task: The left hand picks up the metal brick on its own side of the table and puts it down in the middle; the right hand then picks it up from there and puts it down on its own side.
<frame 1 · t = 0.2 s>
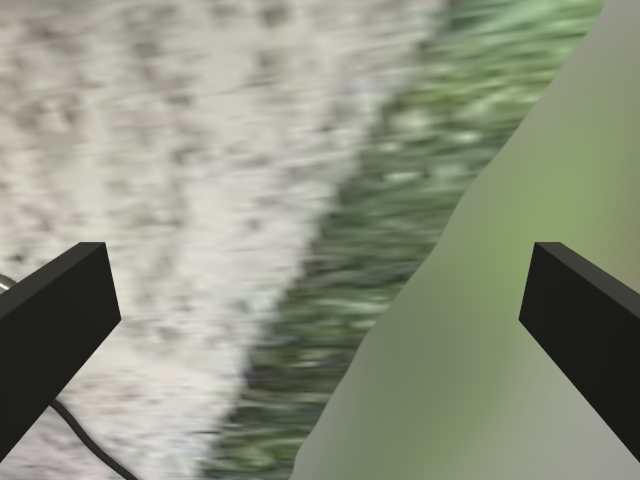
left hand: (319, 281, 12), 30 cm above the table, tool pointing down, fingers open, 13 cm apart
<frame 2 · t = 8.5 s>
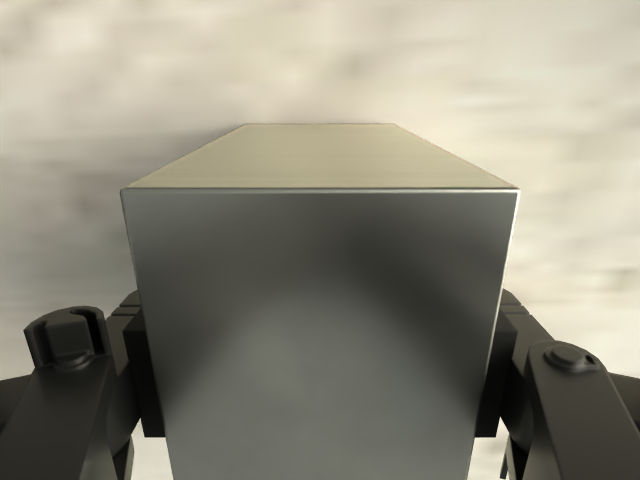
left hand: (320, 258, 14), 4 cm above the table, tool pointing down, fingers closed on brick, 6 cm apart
brick: (320, 224, 18), on the table, touching left hand
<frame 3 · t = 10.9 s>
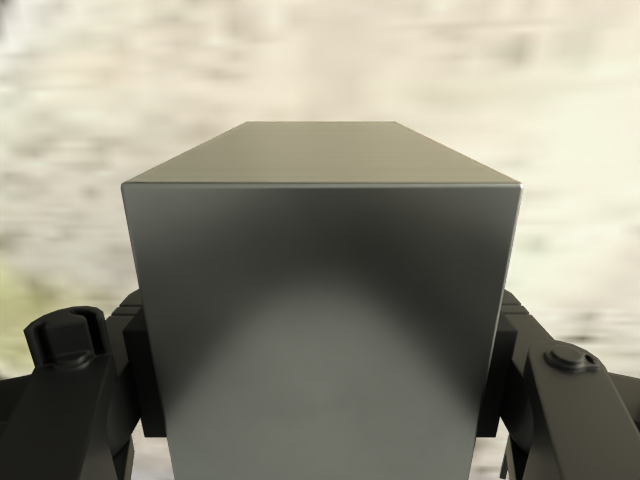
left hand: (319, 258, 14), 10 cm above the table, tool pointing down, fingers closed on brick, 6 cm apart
brick: (320, 222, 18), point 6 cm above the table, touching left hand
when the left hand's fingers open (5 cm above the table, at t = 13.2 s): brick drops 1 cm, on the table.
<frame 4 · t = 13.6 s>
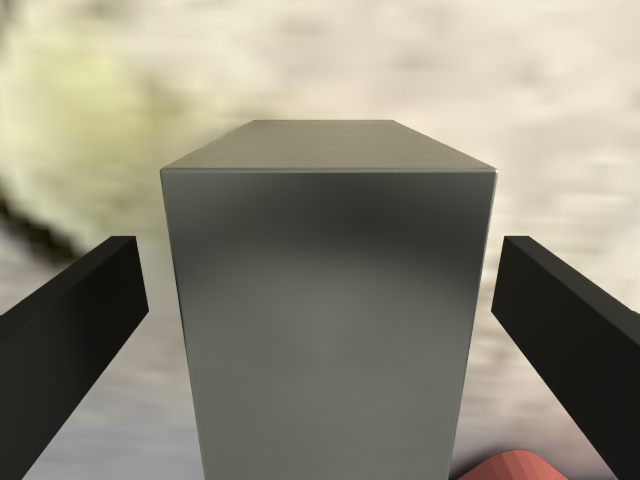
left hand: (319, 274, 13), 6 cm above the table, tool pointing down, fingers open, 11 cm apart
brick: (323, 215, 19), on the table
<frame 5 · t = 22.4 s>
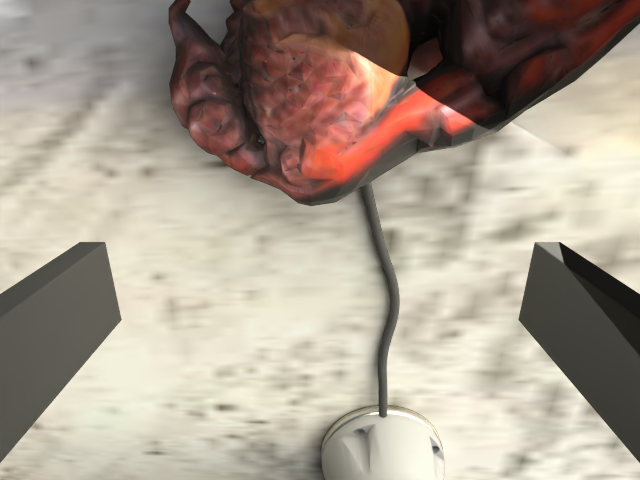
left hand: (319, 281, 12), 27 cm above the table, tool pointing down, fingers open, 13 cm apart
when the right hand's fingers open (5 cm above the table, at t = 28.4 s): brick drops 1 cm, on the table.
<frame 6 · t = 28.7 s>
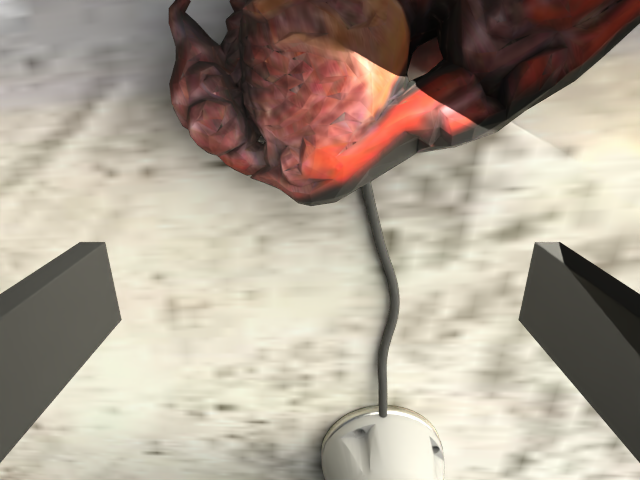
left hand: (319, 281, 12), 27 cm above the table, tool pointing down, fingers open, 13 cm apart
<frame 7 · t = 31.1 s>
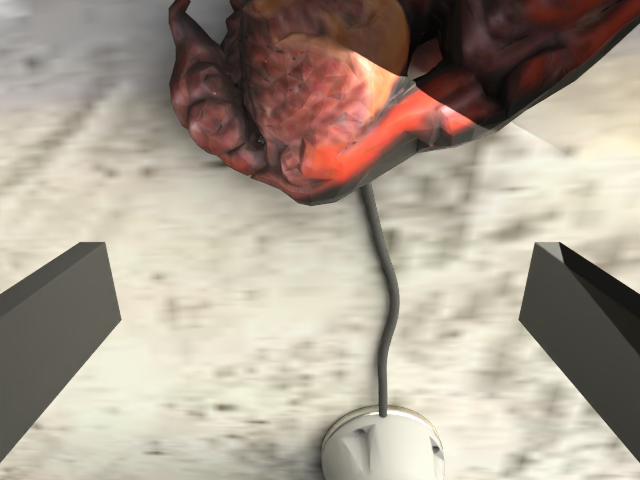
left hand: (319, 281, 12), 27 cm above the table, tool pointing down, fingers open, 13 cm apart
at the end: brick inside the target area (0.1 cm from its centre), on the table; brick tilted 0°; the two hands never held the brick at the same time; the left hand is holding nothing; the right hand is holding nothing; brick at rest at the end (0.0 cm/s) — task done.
